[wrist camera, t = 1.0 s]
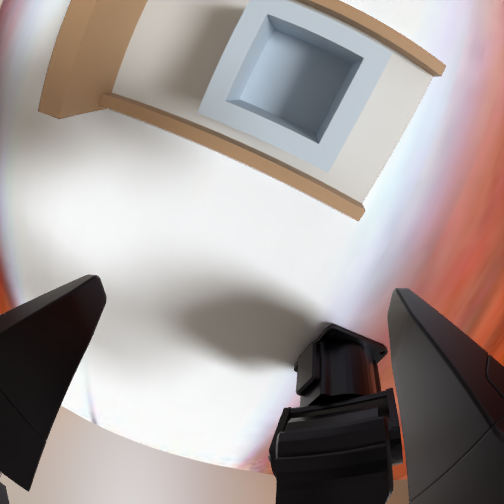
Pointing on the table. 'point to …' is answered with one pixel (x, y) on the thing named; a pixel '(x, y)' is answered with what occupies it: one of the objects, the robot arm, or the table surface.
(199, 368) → the table surface
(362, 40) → the block
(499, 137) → the table surface
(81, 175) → the table surface
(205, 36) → the tan wooden u-shaped frame
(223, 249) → the table surface
